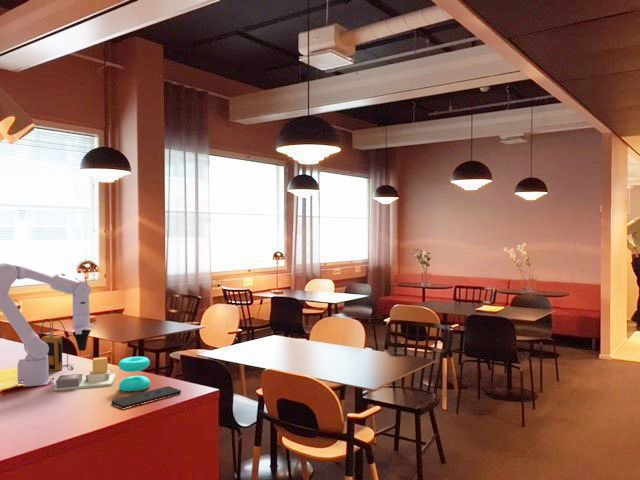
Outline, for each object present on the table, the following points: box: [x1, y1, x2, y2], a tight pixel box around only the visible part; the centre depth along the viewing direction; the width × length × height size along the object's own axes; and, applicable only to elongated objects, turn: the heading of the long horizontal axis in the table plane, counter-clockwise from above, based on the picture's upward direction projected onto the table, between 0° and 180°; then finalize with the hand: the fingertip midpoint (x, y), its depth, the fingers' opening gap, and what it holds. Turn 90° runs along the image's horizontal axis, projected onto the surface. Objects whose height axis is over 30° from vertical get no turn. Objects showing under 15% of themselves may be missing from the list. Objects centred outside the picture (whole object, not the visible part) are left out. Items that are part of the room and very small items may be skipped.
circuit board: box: [54, 372, 117, 392], centre depth 191 cm, size 18×14×1 cm
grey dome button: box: [55, 373, 83, 388], centre depth 187 cm, size 7×7×3 cm
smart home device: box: [110, 385, 182, 409], centre depth 171 cm, size 8×2×20 cm
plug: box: [92, 356, 109, 374], centre depth 194 cm, size 5×3×7 cm, turn 105°
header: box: [85, 368, 112, 382], centre depth 194 cm, size 8×6×2 cm
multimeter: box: [40, 318, 75, 372], centre depth 214 cm, size 15×10×20 cm
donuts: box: [118, 356, 151, 393], centre depth 183 cm, size 10×10×10 cm
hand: (82, 350), depth 201 cm, fingers closed
